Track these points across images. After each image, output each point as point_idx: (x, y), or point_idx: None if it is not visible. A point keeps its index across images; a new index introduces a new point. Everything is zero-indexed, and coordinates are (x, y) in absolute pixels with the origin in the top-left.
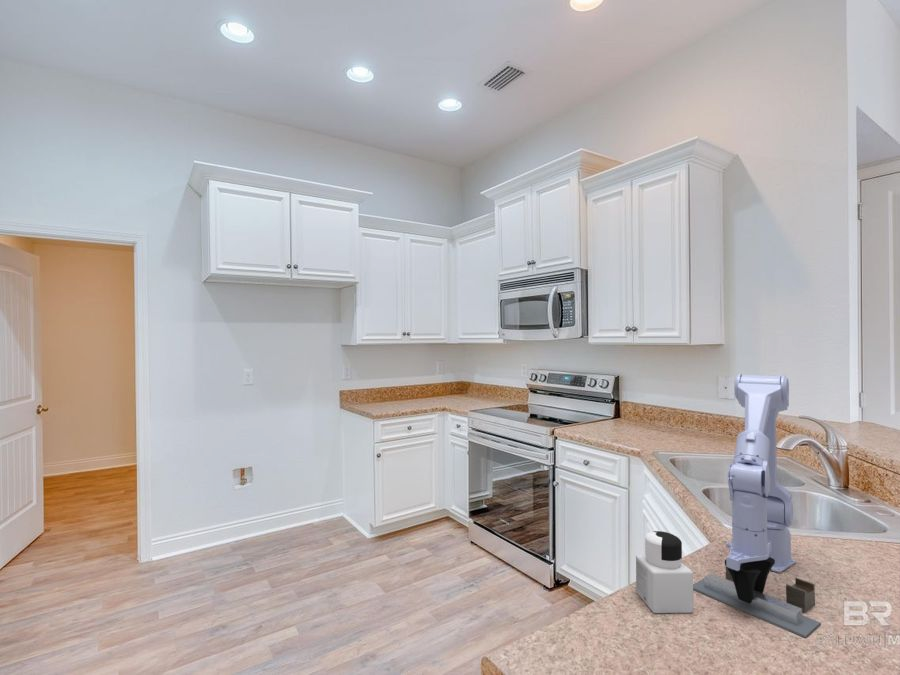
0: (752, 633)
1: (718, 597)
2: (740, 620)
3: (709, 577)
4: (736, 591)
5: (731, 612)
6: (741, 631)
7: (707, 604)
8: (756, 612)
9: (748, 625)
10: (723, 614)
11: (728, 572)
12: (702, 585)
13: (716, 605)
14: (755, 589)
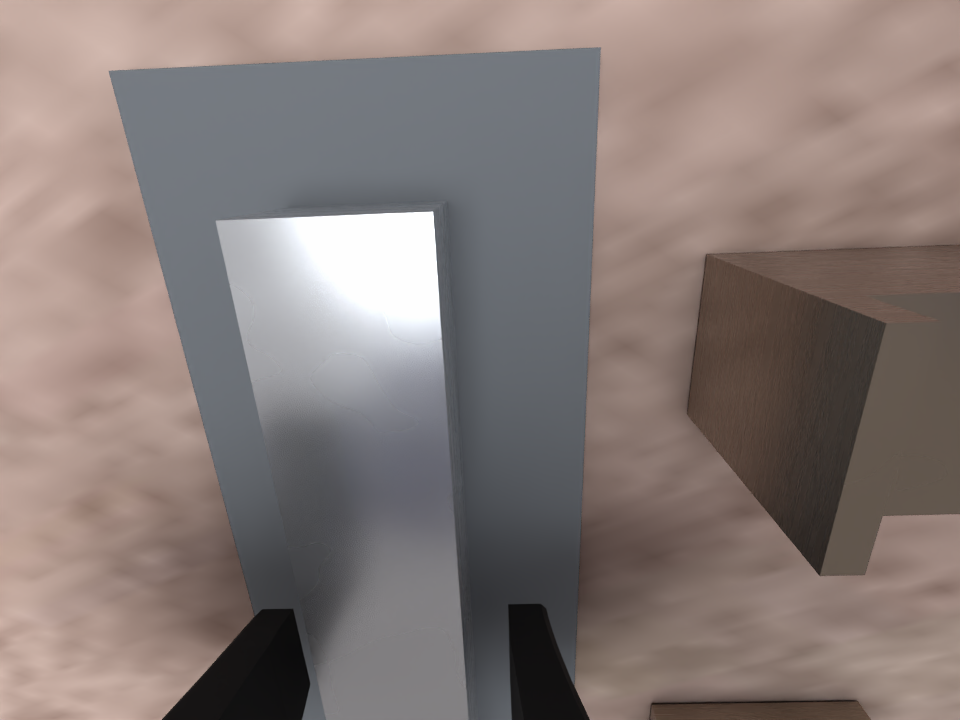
0: (62, 716)
1: (228, 414)
2: (122, 629)
3: (262, 290)
4: (208, 669)
5: (155, 554)
6: (5, 680)
7: (50, 392)
8: (307, 670)
9: (121, 675)
10: (59, 537)
11: (774, 323)
12: (303, 165)
13: (124, 443)
14: (511, 695)
